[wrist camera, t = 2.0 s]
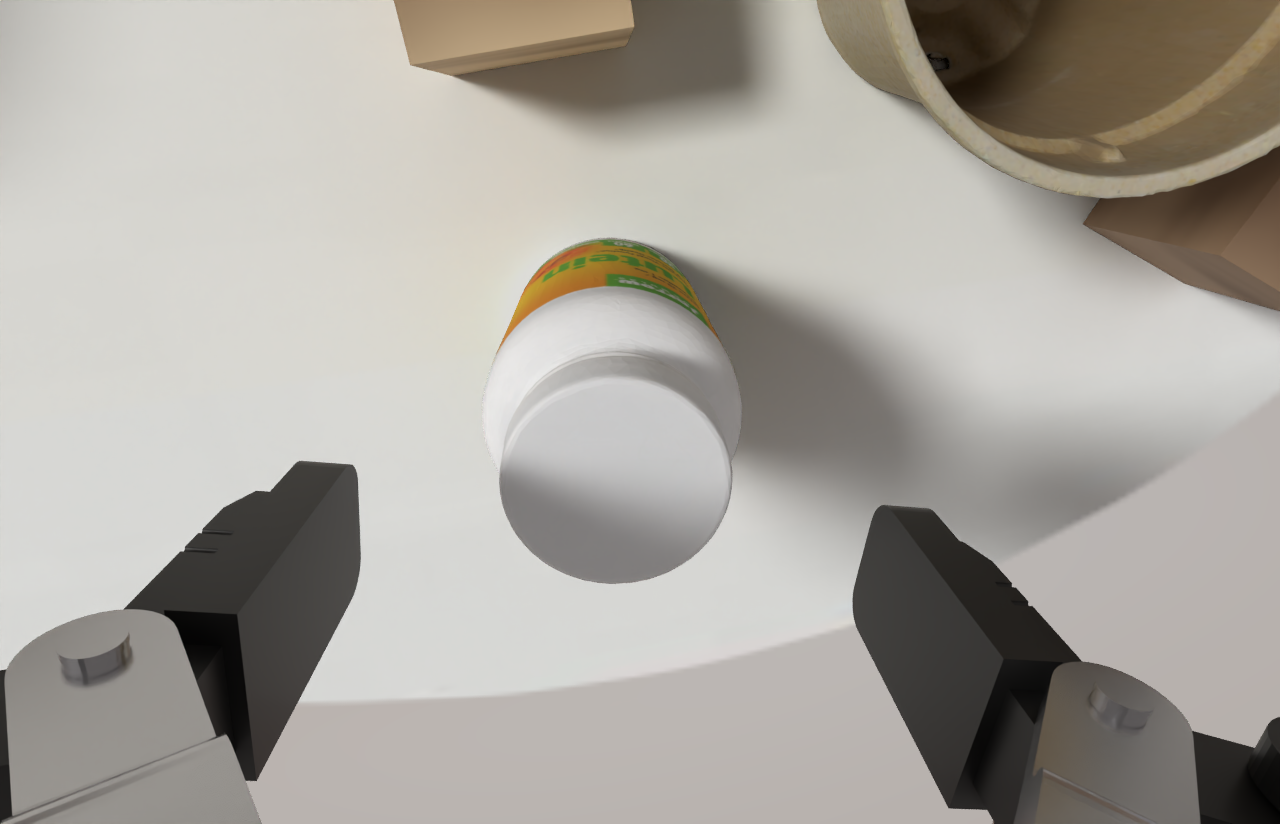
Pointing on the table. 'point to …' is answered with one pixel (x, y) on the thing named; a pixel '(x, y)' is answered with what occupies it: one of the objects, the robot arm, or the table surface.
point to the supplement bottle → (612, 415)
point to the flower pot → (1081, 83)
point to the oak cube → (508, 31)
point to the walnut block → (1207, 231)
